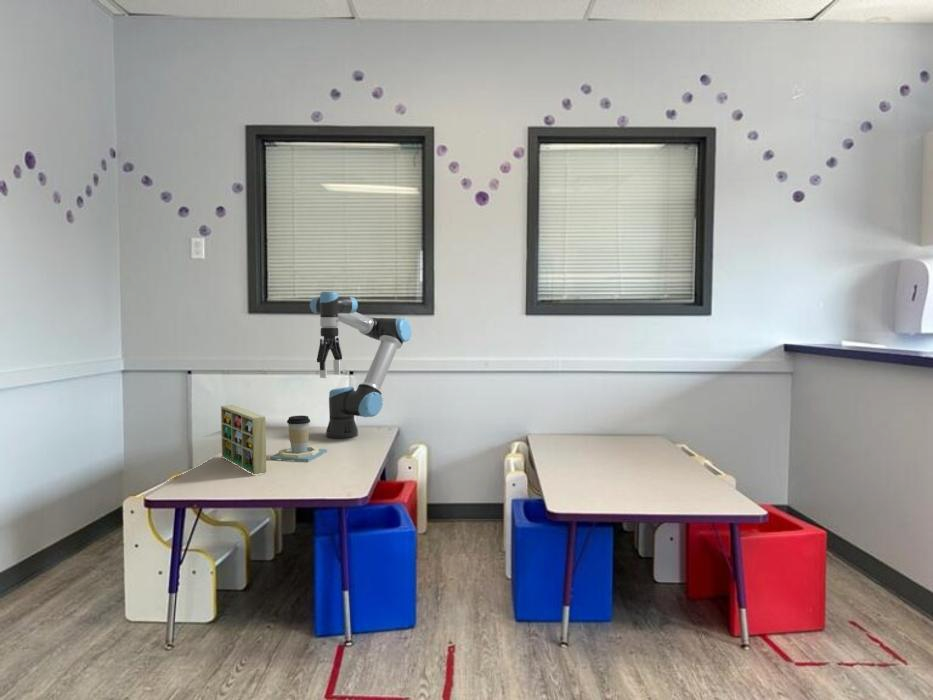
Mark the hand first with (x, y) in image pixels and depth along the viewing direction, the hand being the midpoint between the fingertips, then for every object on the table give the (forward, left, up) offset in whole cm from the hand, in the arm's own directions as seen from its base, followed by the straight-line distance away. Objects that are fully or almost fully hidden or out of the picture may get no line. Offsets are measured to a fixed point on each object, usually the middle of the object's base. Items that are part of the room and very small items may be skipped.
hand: (330, 376), depth 258 cm
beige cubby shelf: (+35, -21, -32) cm, 52 cm away
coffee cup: (+16, -7, -31) cm, 35 cm away
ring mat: (+16, -7, -32) cm, 36 cm away
